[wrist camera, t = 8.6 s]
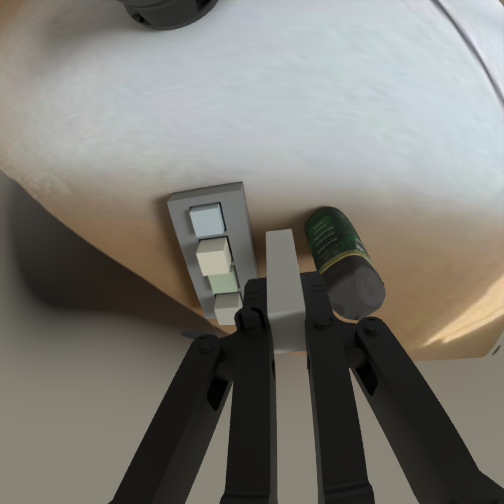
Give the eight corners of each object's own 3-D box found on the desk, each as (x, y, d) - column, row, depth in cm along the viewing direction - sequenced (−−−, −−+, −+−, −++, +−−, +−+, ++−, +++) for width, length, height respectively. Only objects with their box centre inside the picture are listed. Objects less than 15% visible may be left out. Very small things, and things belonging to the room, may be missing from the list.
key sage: (211, 261, 52) (207, 274, 48) (234, 258, 51) (232, 272, 48) (216, 280, 54) (213, 293, 51) (238, 277, 54) (237, 291, 50)
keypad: (173, 192, 46) (166, 202, 43) (242, 181, 45) (240, 189, 41) (208, 305, 60) (205, 318, 57) (263, 300, 59) (263, 314, 55)
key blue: (194, 202, 45) (189, 212, 42) (220, 198, 45) (217, 208, 42) (201, 225, 48) (196, 237, 44) (225, 221, 47) (223, 233, 44)
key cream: (200, 240, 47) (195, 253, 43) (226, 237, 46) (223, 250, 43) (206, 261, 49) (202, 275, 46) (231, 259, 48) (229, 273, 45)
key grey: (216, 294, 53) (213, 308, 50) (239, 292, 53) (237, 307, 49) (221, 310, 55) (219, 325, 52) (243, 308, 55) (242, 323, 52)
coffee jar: (296, 225, 49) (311, 297, 33) (332, 198, 46) (366, 261, 30) (327, 259, 52) (350, 333, 37) (361, 235, 49) (397, 304, 34)
